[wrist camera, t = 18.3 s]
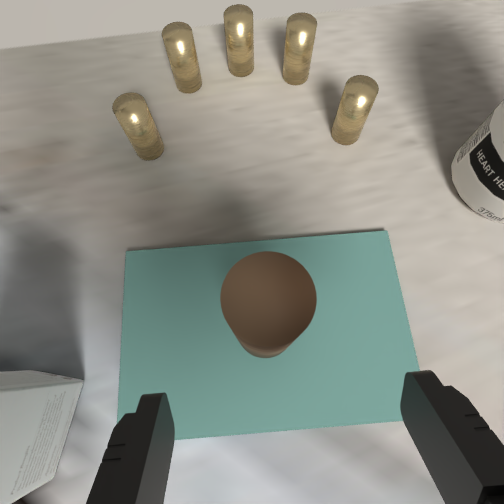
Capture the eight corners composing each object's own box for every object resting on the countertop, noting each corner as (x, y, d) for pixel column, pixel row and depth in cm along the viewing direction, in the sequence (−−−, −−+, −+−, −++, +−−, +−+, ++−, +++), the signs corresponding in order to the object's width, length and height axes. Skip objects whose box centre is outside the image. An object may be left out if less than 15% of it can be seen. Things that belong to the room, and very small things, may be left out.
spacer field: (135, 161, 29) (111, 120, 24) (140, 65, 32) (119, 13, 27) (361, 143, 29) (381, 99, 24) (340, 50, 32) (354, -5, 28)
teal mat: (118, 443, 21) (116, 444, 21) (127, 253, 26) (125, 251, 25) (427, 417, 22) (430, 418, 21) (385, 232, 26) (387, 230, 26)
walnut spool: (237, 360, 23) (222, 349, 13) (234, 301, 24) (218, 254, 15) (296, 356, 23) (323, 342, 13) (290, 297, 24) (310, 247, 15)
